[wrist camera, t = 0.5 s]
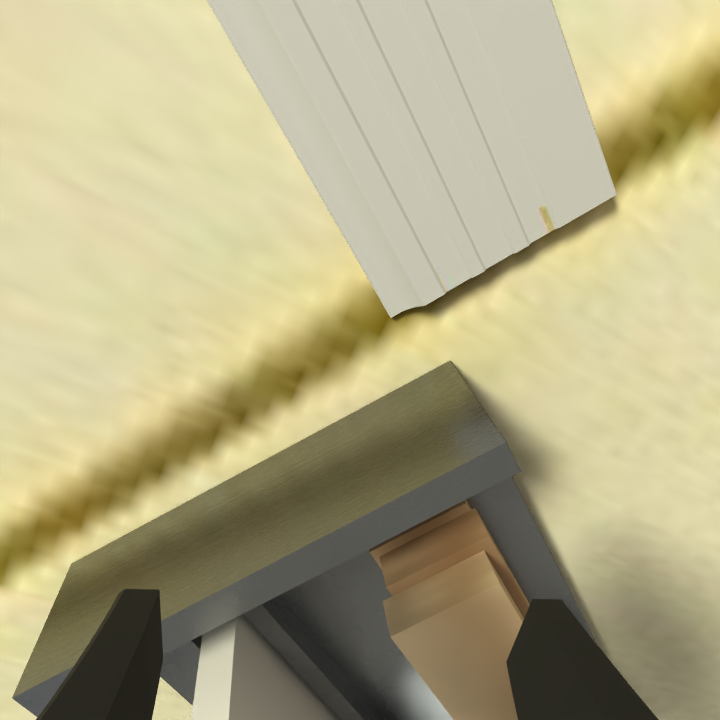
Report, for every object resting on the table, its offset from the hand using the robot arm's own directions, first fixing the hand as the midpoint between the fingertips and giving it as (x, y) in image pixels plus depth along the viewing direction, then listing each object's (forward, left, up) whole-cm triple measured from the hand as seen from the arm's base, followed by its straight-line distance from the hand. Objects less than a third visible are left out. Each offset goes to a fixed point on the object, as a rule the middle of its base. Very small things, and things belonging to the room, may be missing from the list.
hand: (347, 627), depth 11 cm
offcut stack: (+1, -12, -10) cm, 15 cm away
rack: (-4, -12, -11) cm, 17 cm away
